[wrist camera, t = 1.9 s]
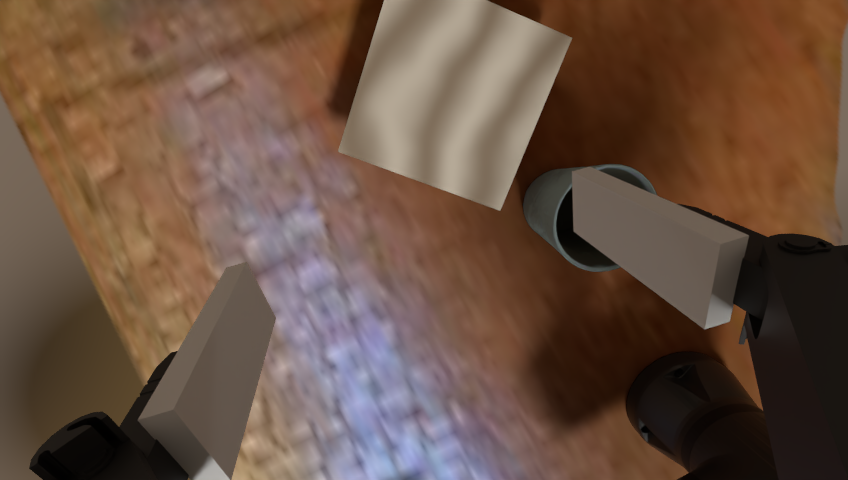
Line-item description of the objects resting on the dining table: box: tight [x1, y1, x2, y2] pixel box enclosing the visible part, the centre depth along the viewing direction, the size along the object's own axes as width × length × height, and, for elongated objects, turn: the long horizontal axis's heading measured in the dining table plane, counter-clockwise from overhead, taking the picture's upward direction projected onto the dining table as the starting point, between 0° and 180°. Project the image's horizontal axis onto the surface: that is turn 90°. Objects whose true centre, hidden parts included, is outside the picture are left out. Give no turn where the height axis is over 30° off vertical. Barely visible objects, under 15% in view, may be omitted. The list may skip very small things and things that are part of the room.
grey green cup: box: [523, 164, 657, 272], centre depth 40 cm, size 10×10×12 cm
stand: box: [338, 0, 572, 211], centre depth 39 cm, size 18×18×6 cm
